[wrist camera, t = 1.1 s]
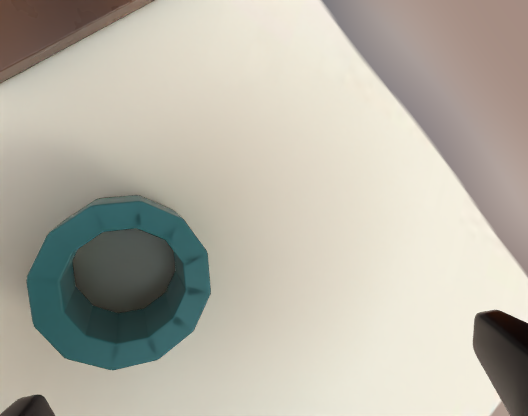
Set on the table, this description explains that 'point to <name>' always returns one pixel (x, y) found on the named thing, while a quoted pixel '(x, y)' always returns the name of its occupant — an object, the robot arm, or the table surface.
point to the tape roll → (104, 321)
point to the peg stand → (51, 27)
